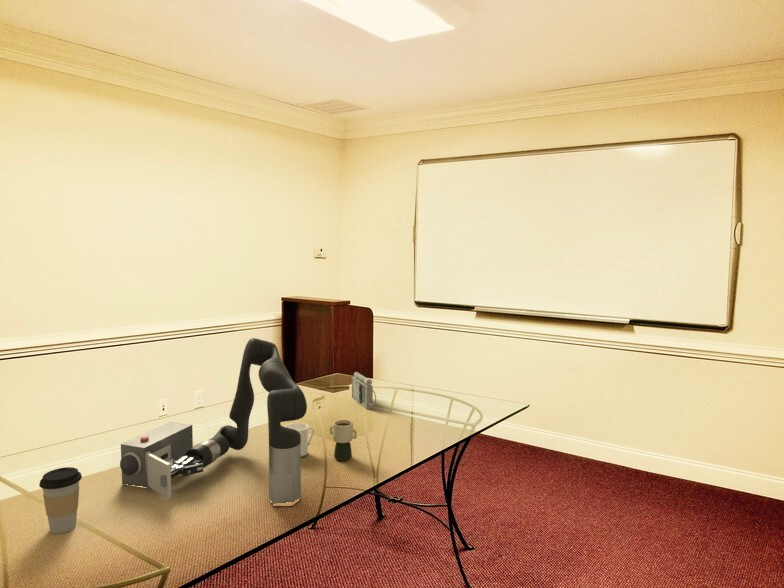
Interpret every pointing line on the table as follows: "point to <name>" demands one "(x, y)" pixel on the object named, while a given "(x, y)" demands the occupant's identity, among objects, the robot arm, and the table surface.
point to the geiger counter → (362, 391)
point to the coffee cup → (61, 498)
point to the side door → (158, 474)
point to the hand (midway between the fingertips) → (166, 476)
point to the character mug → (343, 438)
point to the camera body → (154, 450)
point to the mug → (302, 435)
